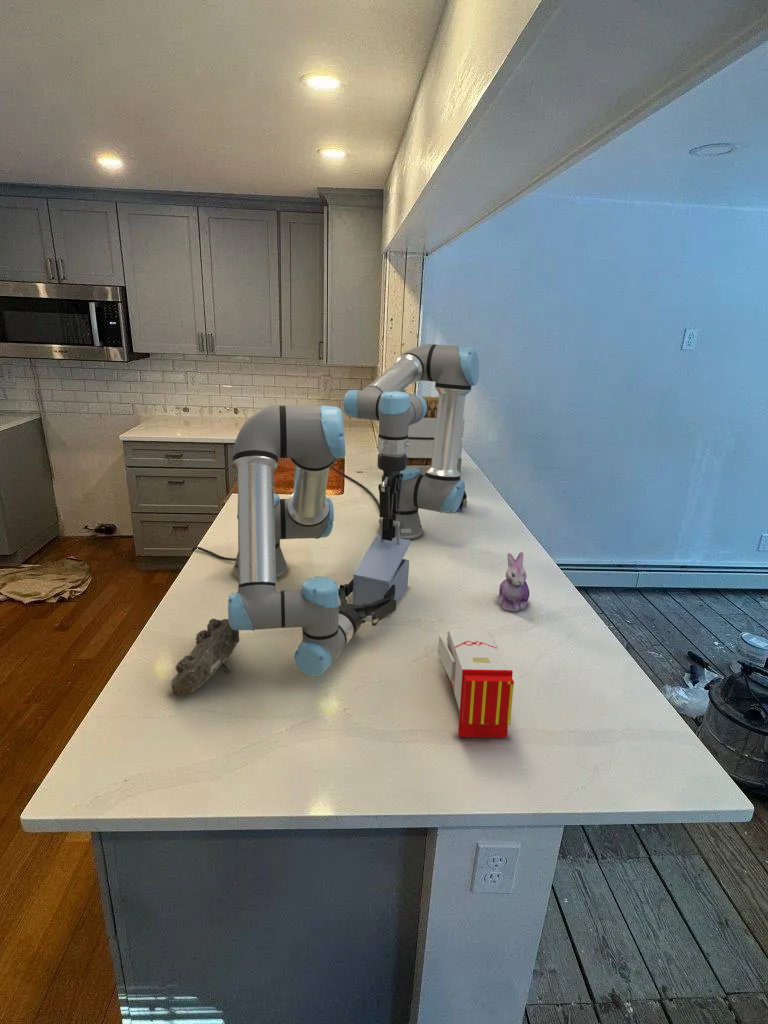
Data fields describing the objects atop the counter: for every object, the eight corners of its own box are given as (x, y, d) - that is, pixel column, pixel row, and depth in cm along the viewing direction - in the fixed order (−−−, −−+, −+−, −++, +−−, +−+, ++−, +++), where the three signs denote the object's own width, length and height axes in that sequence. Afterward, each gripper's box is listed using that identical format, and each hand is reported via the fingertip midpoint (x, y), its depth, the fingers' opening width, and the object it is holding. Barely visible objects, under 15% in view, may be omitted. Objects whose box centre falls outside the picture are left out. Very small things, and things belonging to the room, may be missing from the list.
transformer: (382, 463, 289) (386, 382, 275) (445, 464, 293) (451, 384, 279) (390, 482, 257) (394, 392, 243) (460, 483, 261) (468, 394, 247)
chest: (375, 581, 165) (376, 553, 162) (407, 588, 161) (409, 559, 159) (352, 607, 149) (353, 577, 146) (387, 615, 146) (389, 585, 143)
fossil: (193, 621, 132) (239, 591, 127) (222, 649, 135) (268, 620, 130) (150, 689, 112) (202, 656, 107) (184, 719, 115) (237, 689, 110)
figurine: (511, 616, 149) (518, 564, 143) (487, 598, 157) (493, 549, 152) (539, 609, 153) (547, 558, 148) (514, 592, 161) (521, 544, 156)
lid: (377, 537, 160) (375, 512, 155) (410, 543, 157) (409, 518, 152) (353, 577, 147) (350, 551, 142) (389, 584, 143) (387, 558, 139)
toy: (488, 613, 130) (523, 677, 101) (484, 667, 133) (517, 744, 104) (435, 612, 130) (455, 676, 101) (432, 666, 133) (451, 743, 103)
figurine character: (467, 516, 223) (461, 500, 237) (469, 499, 220) (463, 483, 233) (450, 516, 223) (446, 499, 236) (452, 498, 220) (447, 483, 233)
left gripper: (295, 630, 133) (335, 589, 153) (385, 652, 126) (414, 607, 146) (295, 602, 131) (335, 564, 151) (386, 623, 124) (416, 580, 144)
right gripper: (397, 462, 138) (392, 550, 146) (414, 449, 151) (409, 531, 159) (368, 458, 140) (365, 545, 148) (388, 446, 153) (384, 527, 161)
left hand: (374, 585), depth 148 cm, fingers closed on chest, 10 cm apart
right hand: (388, 538), depth 153 cm, fingers closed on lid, 1 cm apart
